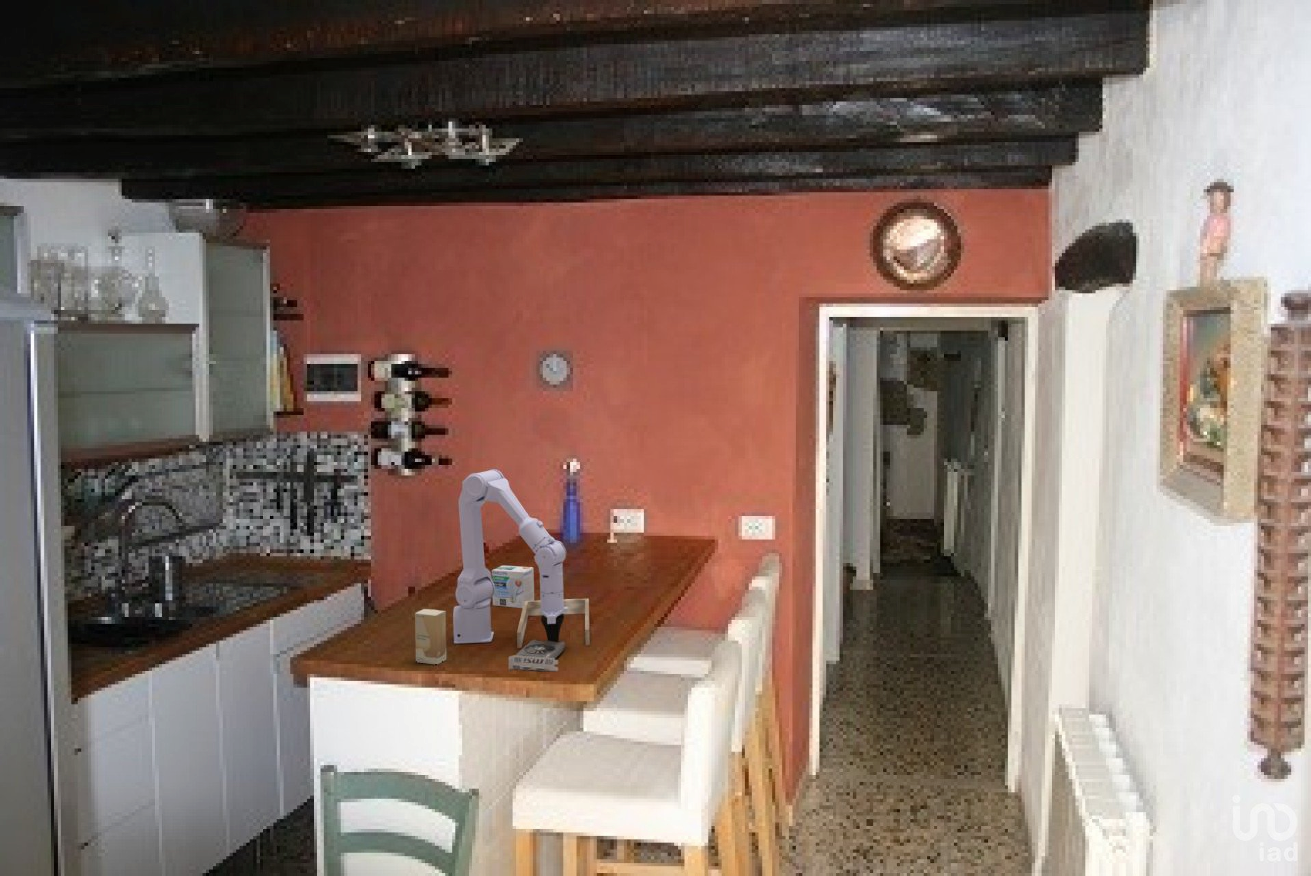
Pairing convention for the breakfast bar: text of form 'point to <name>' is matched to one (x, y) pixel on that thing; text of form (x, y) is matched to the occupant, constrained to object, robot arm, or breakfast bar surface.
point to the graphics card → (537, 656)
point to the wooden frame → (574, 608)
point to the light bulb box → (513, 586)
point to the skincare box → (430, 636)
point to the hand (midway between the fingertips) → (553, 644)
